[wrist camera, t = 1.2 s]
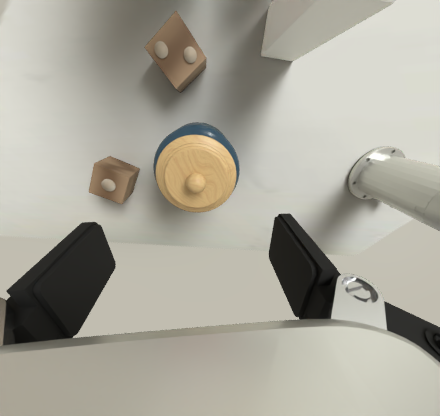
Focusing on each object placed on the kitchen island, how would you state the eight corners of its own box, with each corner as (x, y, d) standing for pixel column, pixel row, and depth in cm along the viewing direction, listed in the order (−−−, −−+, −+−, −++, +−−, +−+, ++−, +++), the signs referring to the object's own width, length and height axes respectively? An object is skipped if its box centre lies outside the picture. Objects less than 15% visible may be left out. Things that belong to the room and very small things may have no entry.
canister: (233, 179, 41) (251, 221, 25) (177, 189, 41) (161, 237, 25) (225, 116, 34) (242, 119, 19) (159, 128, 34) (122, 141, 19)
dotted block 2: (206, 67, 31) (206, 57, 25) (180, 92, 32) (175, 88, 27) (181, 29, 28) (175, 9, 23) (155, 58, 30) (143, 46, 24)
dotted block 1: (139, 168, 38) (129, 178, 32) (132, 192, 40) (121, 204, 35) (110, 156, 36) (93, 163, 31) (104, 181, 39) (88, 192, 33)
